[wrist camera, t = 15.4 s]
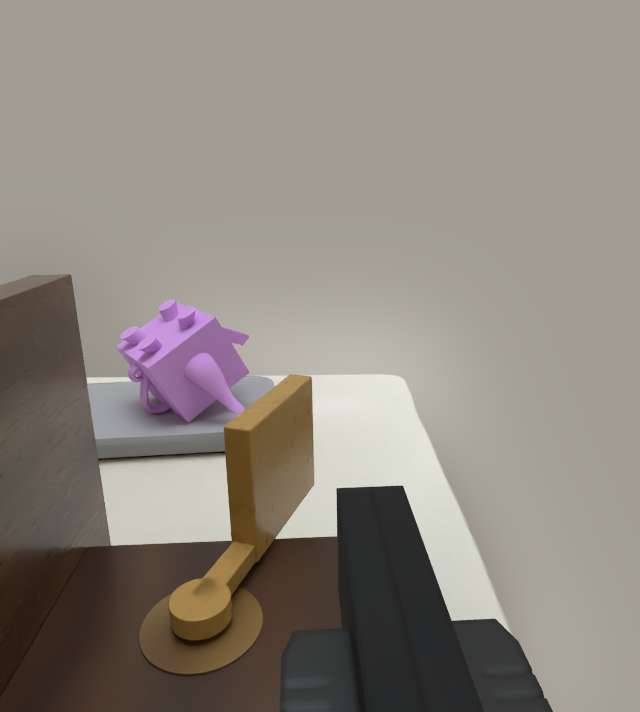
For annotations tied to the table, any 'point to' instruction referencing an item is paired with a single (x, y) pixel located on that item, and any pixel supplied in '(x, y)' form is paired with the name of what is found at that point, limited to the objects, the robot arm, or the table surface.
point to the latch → (253, 499)
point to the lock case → (117, 557)
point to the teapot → (184, 361)
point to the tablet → (161, 420)
